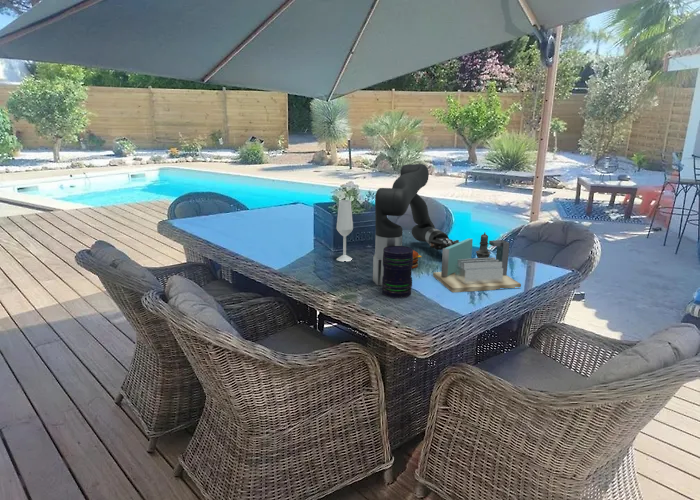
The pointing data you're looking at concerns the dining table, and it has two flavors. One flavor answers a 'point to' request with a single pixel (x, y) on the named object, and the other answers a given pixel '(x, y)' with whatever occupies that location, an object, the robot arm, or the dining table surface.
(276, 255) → the dining table surface
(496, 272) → the cooler block
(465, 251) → the teal upright panel
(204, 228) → the dining table surface
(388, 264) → the storage jar
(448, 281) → the mounting board
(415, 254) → the hamburger
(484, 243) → the chess piece
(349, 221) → the champagne flute
